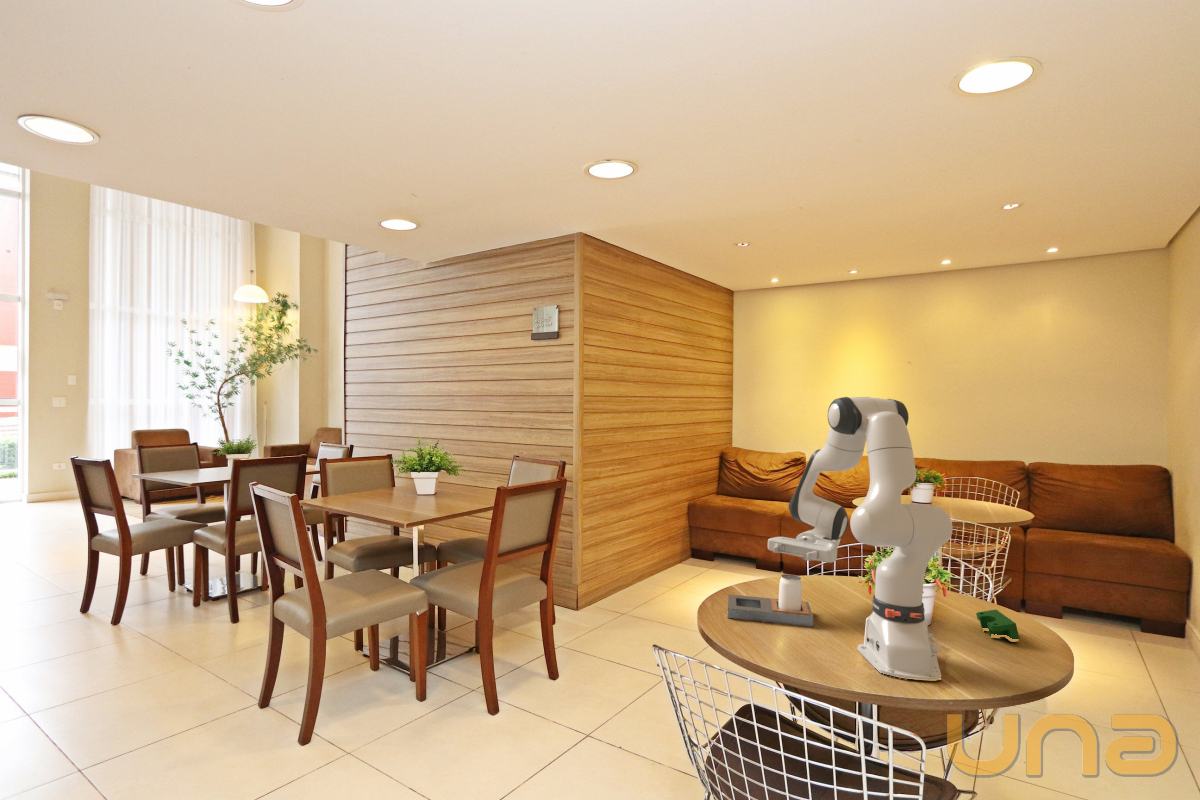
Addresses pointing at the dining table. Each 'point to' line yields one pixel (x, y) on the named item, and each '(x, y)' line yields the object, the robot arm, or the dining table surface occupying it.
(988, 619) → the clamp
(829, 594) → the dining table surface
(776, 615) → the grey tray
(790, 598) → the can
